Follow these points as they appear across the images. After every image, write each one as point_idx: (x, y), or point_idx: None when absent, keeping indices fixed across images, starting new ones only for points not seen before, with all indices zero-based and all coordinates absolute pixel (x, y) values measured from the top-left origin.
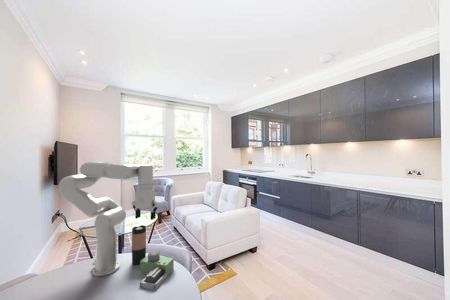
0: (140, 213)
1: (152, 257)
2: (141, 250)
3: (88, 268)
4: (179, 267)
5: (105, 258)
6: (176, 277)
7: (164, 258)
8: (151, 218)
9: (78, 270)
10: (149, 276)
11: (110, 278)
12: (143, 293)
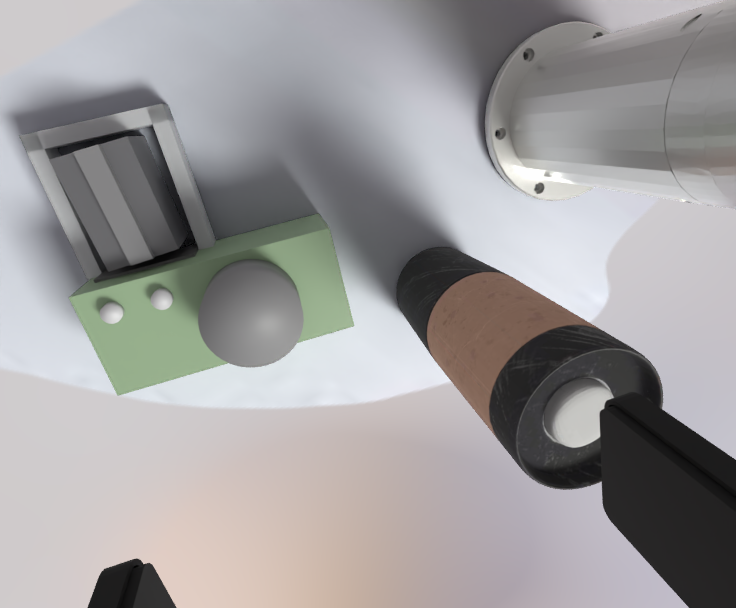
0: (670, 585)
1: (217, 281)
2: (426, 311)
3: None
4: None
5: (588, 61)
6: (35, 307)
7: (183, 355)
8: (93, 602)
9: None
10: (92, 147)
11: (443, 65)
12: (71, 66)
